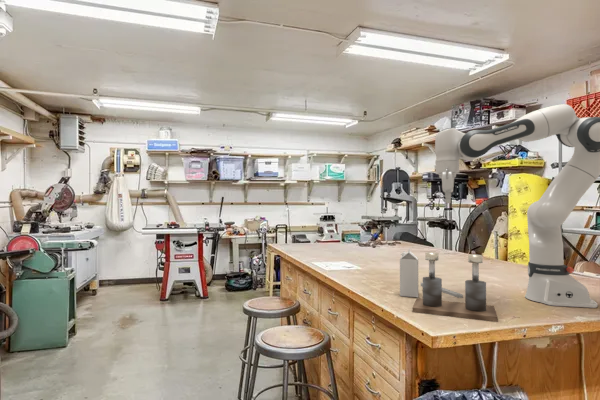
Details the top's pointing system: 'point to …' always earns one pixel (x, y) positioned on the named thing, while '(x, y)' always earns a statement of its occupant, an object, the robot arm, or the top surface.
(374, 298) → the top surface
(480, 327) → the top surface
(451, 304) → the press block
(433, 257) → the plunger
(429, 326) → the top surface
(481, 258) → the plunger
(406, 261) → the milk carton
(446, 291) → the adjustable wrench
